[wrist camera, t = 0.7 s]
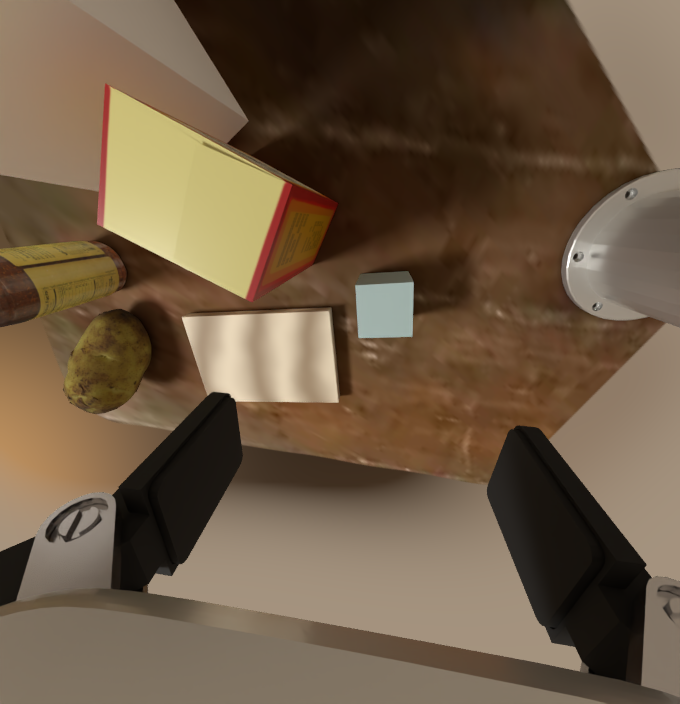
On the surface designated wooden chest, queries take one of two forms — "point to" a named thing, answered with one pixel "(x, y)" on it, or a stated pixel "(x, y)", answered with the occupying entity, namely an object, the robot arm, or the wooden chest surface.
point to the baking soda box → (204, 201)
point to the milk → (97, 81)
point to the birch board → (266, 354)
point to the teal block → (385, 304)
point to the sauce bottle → (55, 278)
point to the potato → (108, 362)
